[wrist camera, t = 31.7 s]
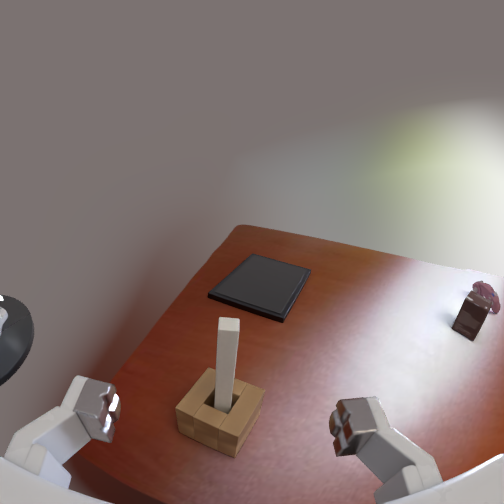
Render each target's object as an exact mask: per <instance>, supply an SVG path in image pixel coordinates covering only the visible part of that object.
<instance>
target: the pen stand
mask: <svg viewBox="0 0 504 504" xmlns="http://www.w3.org/2000/svg"><path fill="white" fill-rule="evenodd" d="M215 380H216V370H214V369H211V368H208V369H207V370H206V371H205V373H204V374H203V375H202V376H201V377H200V379H199V380H198V381H197V382H196V383H195V385H194V386H193V387H192V388H191V390H190V391H189V392H188V393H187V394H186V396H185V397H184V398H183V399H182V400H181V402H180V403H179V404H178V405H177V406H176V415H177V422H178V429H179V432H180V433H182V434H184V435H186V436H188V437H190V438H192V439H194V440H196V441H198V442H200V443H202V444H204V445H206V446H208V447H211V448H213V449H215V450H218V451H219V452H222V453H224V454H226V455H229V456H231V457H233V458H235V457H236V455H237V454H238V452H239V450H240V449H241V447H242V445H243V443H244V442H245V440H246V438H247V436H248V435H249V433H250V431H251V429H252V427H253V426H254V424H255V422H256V420H257V418H258V417H259V414H260V410H261V406H262V402H263V398H264V393H265V390H264V389H261V388H259V387H256V386H253V385H251V384H247V383H245V382H243V381H240V380H238V379H235V378H234V383H233V392H232V401H231V410H230V412H229V414H226V413H224V412H222V411H219V410H217V409H215V408H214V404H215Z"/></svg>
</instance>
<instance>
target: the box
mask: <svg viewBox="0 0 504 504" xmlns="http://www.w3.org/2000/svg"><path fill="white" fill-rule="evenodd" d="M491 305H492V302H491V301H490V300H488V299H486V298H484V297H483V296H481V295H479V294H477V293H476V292H474V291H471V292H470V293H469V294H468V296H467V297H466V298H465V300H464V302H463V305H462V307H461V309H460V311H459V314H458V316H457V318H456V320H455V322H454V324H453V326H452V329H454V330H456V331H458V332H459V333H461V334H463V335H464V336H466V337H468V338H469V339H471V340H472V341H474V339H475V337H476V336H477V334H478V332H479V330H480V328H481V326H482V324H483V322H484V321H485V318H486V316H487V314H488V312H489V310H490V308H491Z"/></svg>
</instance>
